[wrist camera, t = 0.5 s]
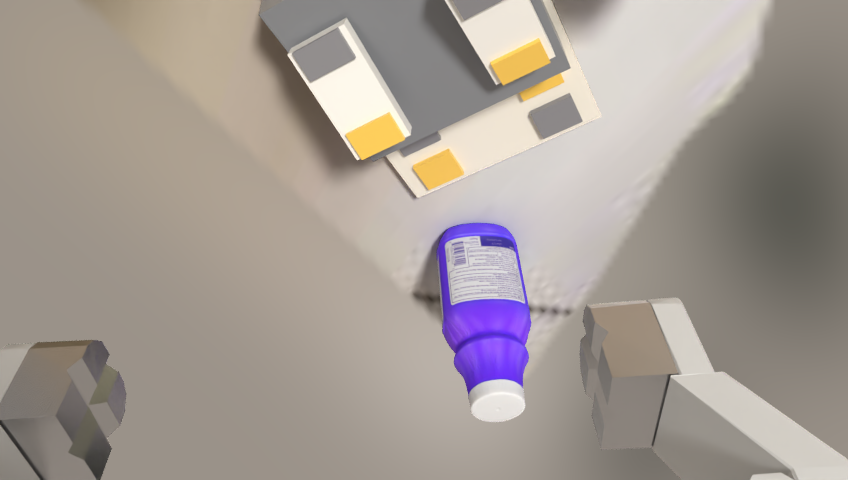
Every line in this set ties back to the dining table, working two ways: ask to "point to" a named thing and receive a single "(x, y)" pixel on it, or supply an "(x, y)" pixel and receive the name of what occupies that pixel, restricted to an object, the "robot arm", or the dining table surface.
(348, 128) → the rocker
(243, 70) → the dining table surface
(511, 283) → the bottle
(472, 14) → the rocker
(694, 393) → the robot arm
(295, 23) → the switch unit
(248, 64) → the dining table surface
